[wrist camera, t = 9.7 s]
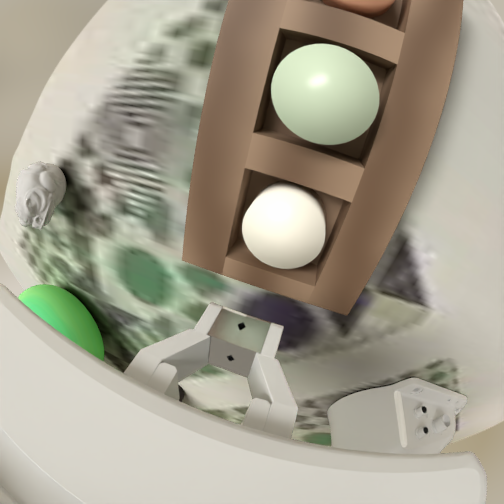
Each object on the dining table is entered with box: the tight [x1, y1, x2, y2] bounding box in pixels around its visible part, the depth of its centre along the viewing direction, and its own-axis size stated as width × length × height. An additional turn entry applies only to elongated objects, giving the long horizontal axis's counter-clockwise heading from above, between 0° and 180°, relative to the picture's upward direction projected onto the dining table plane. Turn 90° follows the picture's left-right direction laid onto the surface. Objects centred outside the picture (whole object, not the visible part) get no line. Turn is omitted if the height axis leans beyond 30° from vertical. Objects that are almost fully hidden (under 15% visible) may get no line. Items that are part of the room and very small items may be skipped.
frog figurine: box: [15, 162, 66, 230], centre depth 21 cm, size 6×7×7 cm
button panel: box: [182, 0, 463, 315], centre depth 13 cm, size 12×25×4 cm, turn 167°
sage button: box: [271, 44, 379, 145], centre depth 11 cm, size 5×5×2 cm
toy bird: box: [18, 284, 104, 362], centre depth 30 cm, size 18×17×15 cm
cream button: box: [242, 181, 326, 269], centre depth 17 cm, size 5×5×2 cm
